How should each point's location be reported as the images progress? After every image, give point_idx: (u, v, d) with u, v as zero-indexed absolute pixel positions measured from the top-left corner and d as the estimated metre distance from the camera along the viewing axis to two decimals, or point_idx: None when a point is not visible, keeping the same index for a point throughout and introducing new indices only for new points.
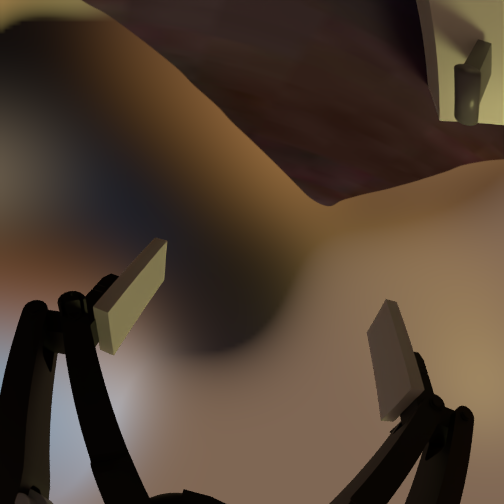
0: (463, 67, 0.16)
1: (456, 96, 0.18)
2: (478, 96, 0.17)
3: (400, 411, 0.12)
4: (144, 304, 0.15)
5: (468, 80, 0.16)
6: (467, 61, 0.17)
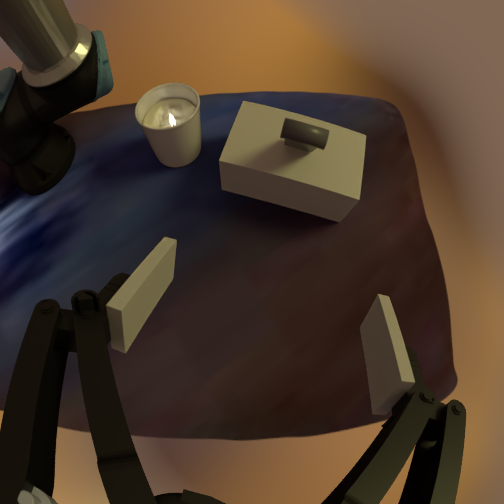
0: None
1: (303, 139, 0.31)
2: (303, 122, 0.31)
3: (391, 404, 0.12)
4: (155, 302, 0.16)
5: (286, 123, 0.31)
6: None
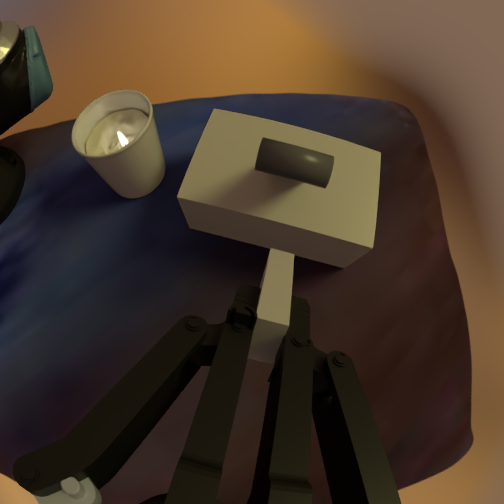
0: None
1: (292, 173, 0.20)
2: (291, 144, 0.20)
3: (274, 351, 0.14)
4: None
5: (264, 148, 0.19)
6: None
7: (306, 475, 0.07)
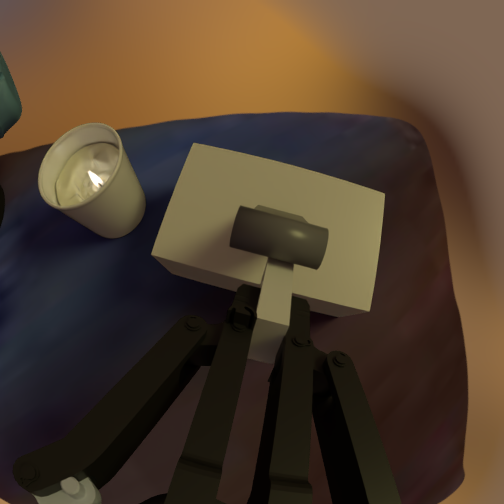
0: None
1: (275, 254, 0.16)
2: (275, 216, 0.16)
3: (274, 351, 0.14)
4: None
5: (240, 224, 0.16)
6: None
7: (306, 475, 0.07)
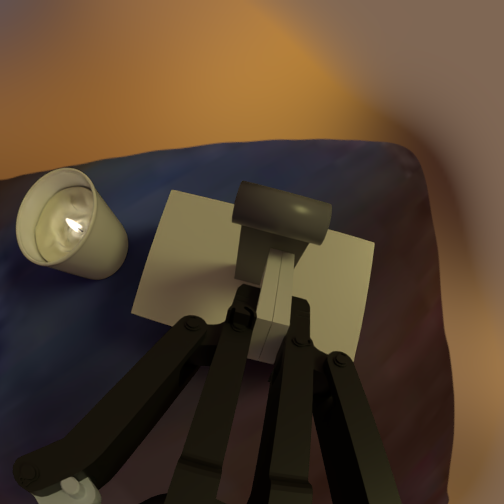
0: None
1: (282, 217, 0.16)
2: None
3: (274, 351, 0.14)
4: None
5: (246, 186, 0.16)
6: (240, 237, 0.19)
7: (306, 475, 0.07)
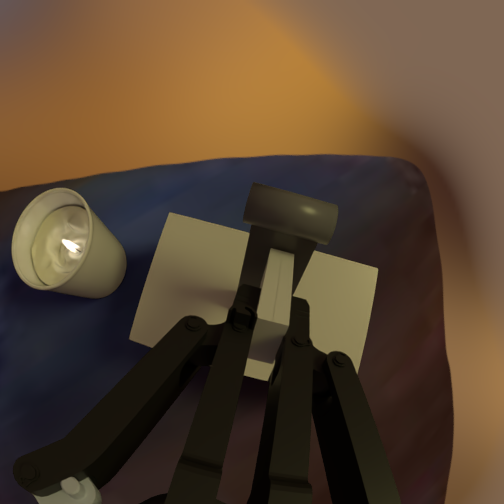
0: None
1: (292, 211, 0.16)
2: None
3: (274, 351, 0.14)
4: None
5: (259, 185, 0.17)
6: (247, 244, 0.19)
7: (306, 475, 0.07)
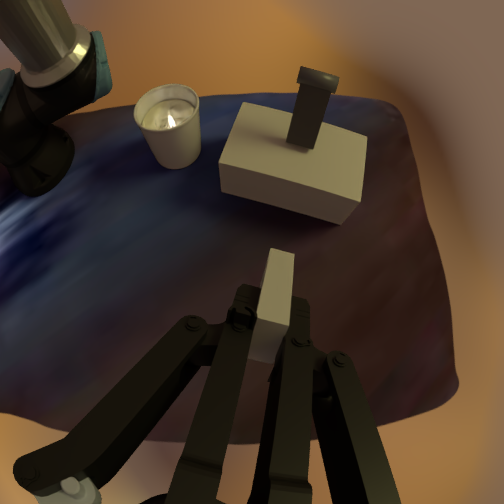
0: (298, 77, 0.34)
1: (319, 75, 0.32)
2: None
3: (274, 351, 0.14)
4: None
5: None
6: (297, 95, 0.35)
7: (306, 475, 0.07)
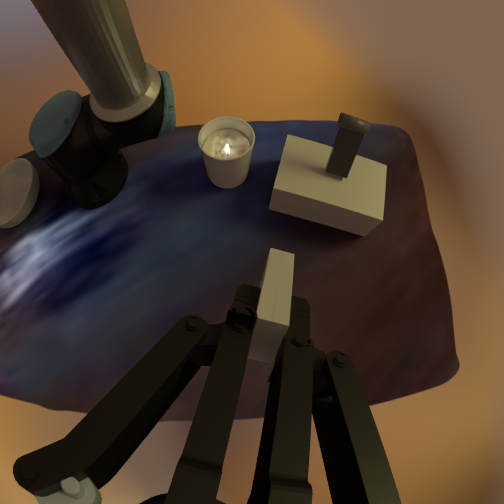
0: (339, 121, 0.44)
1: (356, 121, 0.43)
2: None
3: (274, 351, 0.14)
4: None
5: (343, 113, 0.44)
6: (337, 136, 0.46)
7: (306, 475, 0.07)
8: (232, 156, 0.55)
